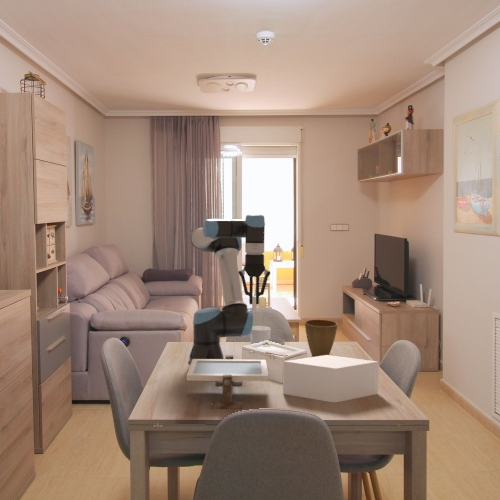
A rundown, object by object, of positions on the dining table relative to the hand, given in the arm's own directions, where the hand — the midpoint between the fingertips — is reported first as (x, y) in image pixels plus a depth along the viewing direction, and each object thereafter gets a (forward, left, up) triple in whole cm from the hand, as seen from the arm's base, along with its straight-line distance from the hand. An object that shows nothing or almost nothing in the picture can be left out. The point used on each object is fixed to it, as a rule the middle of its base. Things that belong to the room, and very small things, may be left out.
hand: (254, 312), depth 210 cm
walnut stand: (+1, -23, -26) cm, 35 cm away
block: (+34, -4, -27) cm, 43 cm away
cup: (0, +22, -27) cm, 35 cm away
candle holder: (-13, +34, -27) cm, 45 cm away
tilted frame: (+1, -23, -17) cm, 29 cm away
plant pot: (+14, +42, -27) cm, 51 cm away
